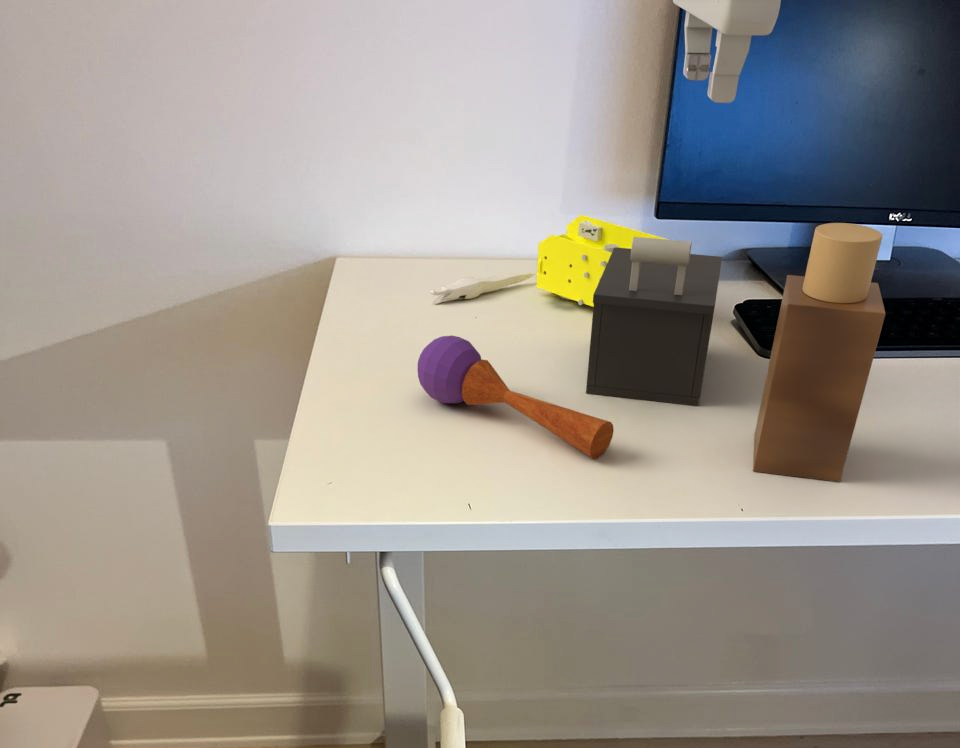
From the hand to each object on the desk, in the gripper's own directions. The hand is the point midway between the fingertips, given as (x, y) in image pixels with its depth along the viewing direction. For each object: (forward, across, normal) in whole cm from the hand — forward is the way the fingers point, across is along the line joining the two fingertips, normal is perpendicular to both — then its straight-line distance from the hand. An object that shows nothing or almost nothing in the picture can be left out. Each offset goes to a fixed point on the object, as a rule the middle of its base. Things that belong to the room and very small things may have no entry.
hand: (707, 89), depth 76 cm
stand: (+26, -10, -10) cm, 30 cm away
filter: (+12, -10, -10) cm, 18 cm away
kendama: (+26, -3, +14) cm, 30 cm away
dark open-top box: (+26, +8, 0) cm, 27 cm away
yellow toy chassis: (+26, +26, +2) cm, 37 cm away
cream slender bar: (+26, +31, +16) cm, 44 cm away
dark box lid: (+17, +8, 0) cm, 19 cm away
